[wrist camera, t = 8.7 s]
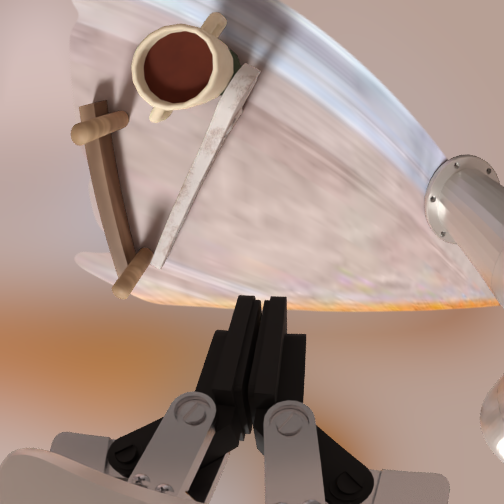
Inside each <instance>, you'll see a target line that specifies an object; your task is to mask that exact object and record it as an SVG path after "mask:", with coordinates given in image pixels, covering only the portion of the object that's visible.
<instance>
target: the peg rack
mask: <svg viewBox="0 0 504 504" xmlns="http://www.w3.org/2000/svg"><path fill="white" fill-rule="evenodd" d="M79 110H80V118H81V123H78V124H75V125H74V126H73V128H72V130H71V138H72V141H73V142H74V143H75V144H76V145H83V144H85V149H86V154H87V160H88V165H89V169H90V175H91V179H92V184H93V188H94V193H95V197H96V201H97V205H98V209H99V213H100V217H101V221H102V225H103V228H104V232H105V235H106V239H107V242H108V246H109V249H110V253H111V256H112V259H113V263H114V266H115V269H116V272H117V275H118V280H117V281H116V282H115V284H114V285H113V287H112V291H113V293H114V295H115V296H116V297H118V298H120V299H126V298H127V297H128V296H129V294H130V293H131V291H132V290H133V288H134V287H135V285H136V284H137V282H138V281H139V279H140V278H141V276H142V275H143V273H144V272H145V270H146V269H147V267H148V266H149V264H150V263H151V260H152V258H153V252H152V251H151V250H150V249H148V248H141V249H140V250H139V252H138V253H137V254H136V252H135V248H134V244H133V241H132V237H131V232H130V228H129V224H128V220H127V216H126V211H125V207H124V202H123V197H122V193H121V188H120V183H119V177H118V172H117V167H116V161H115V155H114V149H113V143H112V137H111V133H112V132H114V131H117V130H120V129H122V128H124V127H126V126H127V124H128V122H129V117H128V115H127V113H126V112H124V111H117V112H113V113H110V114H108V108H107V100H105V101H100V102H96V103H92V104H88V105H84V106H81V107H79Z"/></svg>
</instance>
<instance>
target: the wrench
mask: <svg viewBox="0 0 504 504" xmlns="http://www.w3.org/2000/svg"><path fill="white" fill-rule="evenodd" d="M260 73H261V71H260V70H259V69H257V68H255V67H253V66H251V65H249V64H247V63H245V64H244V65H243V66H242V67H241V68H240V69H239V70H238V71H237V73H236V74H235V76H234V77H233V79H232V80H231V82H230V83H229V84H228V86H227V88H226V90H225V91H224V93H223V95H222V97H221V99H220V101H219V103H218V105H217V108H216V110H215V113H214V115H213V118H212V120H211V123H210V125H209V128H208V130H207V133H206V135H205V137H204V140H203V142H202V145H201V147H200V150H199V152H198V154H197V156H196V158H195V160H194V162H193V164H192V166H191V169H190V171H189V173H188V175H187V177H186V179H185V182H184V184H183V186H182V188H181V190H180V193H179V195H178V197H177V200H176V202H175V204H174V206H173V209H172V211H171V213H170V216H169V218H168V220H167V223H166V225H165V228H164V230H163V233H162V235H161V237H160V240H159V242H158V245H157V247H156V250H155V252H154V255H153V258H152V260H151V263H150V264H151V265H153V266H154V267H156V268H158V269H161V268H162V267H163V265H164V263H165V261H166V259H167V257H168V255H169V253H170V250H171V248H172V246H173V244H174V242H175V239H176V237H177V235H178V233H179V231H180V228H181V226H182V224H183V222H184V220H185V218H186V216H187V214H188V211H189V209H190V207H191V205H192V203H193V201H194V199H195V197H196V195H197V193H198V191H199V189H200V187H201V185H202V183H203V181H204V179H205V177H206V175H207V173H208V171H209V169H210V167H211V165H212V163H213V161H214V159H215V157H216V155H217V154H218V152H219V150H220V148H221V146H222V145H223V143H224V141H225V139H226V138H227V136H228V134H229V133H230V131H231V129H232V128H233V126H234V124H235V123H236V121H237V120H238V118H239V117H240V115H241V114H242V112H243V110H242V106H243V105H244V103H245V101H246V99H247V98H248V96H249V94H250V92H251V90H252V88H253V87H254V85H255V83H256V81H257V77H258V76H259V74H260Z"/></svg>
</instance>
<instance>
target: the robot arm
mask: <svg viewBox="0 0 504 504" xmlns="http://www.w3.org/2000/svg"><path fill="white" fill-rule="evenodd" d="M454 164H455V165H454ZM431 197H432V198H431ZM424 208H425V216H426V219H427V222H428V224H429V226H430V228H431V229H432V231H433V232H434V233H435V234H436V235H437V236H438V237H439V238H440V239H441V240H443V241H445V242H447V243H451V244H458V246H459V247H460V248H461V249H462V251H463V252H464V253H465V255H466V256H467V257H468V259H469V260H470V261H471V263H472V264H473V266H474V267H475V268H476V270H477V271H478V272H479V274H480V275H481V277H482V278H483V280H484V281H485V283H486V284H487V285H488V287H489V288H490V290H491V291H492V293H493V295H494V296H495V297H496V299H497V300H498V302H499V303H500V305H501V306H502V307H503V309H504V187H503V186H501V185H500V183H499V180H498V177H497V174H496V173H495V171H494V169H493V168H492V167H491V166H490V165H489V164H488V163H487V162H486V161H484V160H483V159H481V158H479V157H476V156H473V155H459V156H456V157H453V158H451V159H450V160H448V161H446V162H445V163H444V164H443V165H441V166H440V167H439V169H438V170H437V171H436V172H435V173H434V175H433V177H432V179H431V180H430V182H429V185H428V188H427V191H426V195H425V205H424ZM305 353H306V334H287V298H286V297H274V296H271V298H270V300H265V301H264V306H263V311H261V301H260V300H255V296H244V295H239V296H238V299H237V303H236V306H235V310H234V313H233V316H232V320H231V323H230V327H229V330H228V331H225V330H216V331H215V334H214V336H213V339H212V342H211V345H210V348H209V351H208V354H207V357H206V360H205V363H204V366H203V369H202V373H201V375H200V378H199V381H198V384H197V387H196V390H195V392H187V393H184V394H182V395H180V396H179V397H177V398H176V399H175V400H174V401H173V402H172V403H171V405H170V407H169V409H168V410H167V412H166V414H165V416H164V417H162V418H160V419H159V420H157V421H154V422H152V423H150V424H148V425H146V426H144V427H142V428H140V429H137V430H136V431H133V432H131V433H129V434H127V435H125V436H123V437H120V438H118V439H117V440H114V439H111V438H110V437H102V436H94V435H86V434H79V433H72V432H62V433H60V434H58V435H57V436H56V437H55V438H54V440H53V442H52V445H51V449H50V451H46V450H42V449H36V448H23V449H17V450H15V451H13V452H11V453H10V454H9V455H8V456H7V457H6V458H5V459H4V461H3V462H2V464H1V465H0V504H209V502H210V500H211V498H212V495H213V493H214V491H215V488H216V486H217V484H218V482H219V479H220V477H221V475H222V472H223V470H224V467H225V465H226V463H227V460H228V458H229V455H230V451H231V450H233V449H235V448H236V447H238V445H239V440H240V441H244V438H245V434H250V433H251V430H252V425H253V428H254V434H255V439H256V445H257V449H258V450H259V451H260V452H261V453H262V454H263V455H264V465H265V504H448V498H449V492H450V486H449V482H448V480H447V479H446V478H445V477H444V476H443V475H441V474H437V473H422V472H406V471H395V470H385V469H382V470H381V471H378V470H369V469H368V468H366V466H364V465H363V464H362V463H361V462H359V461H358V460H357V459H356V458H354V457H353V456H352V455H351V454H350V453H348V452H347V451H346V450H345V449H344V448H342V447H341V446H340V445H339V444H338V443H336V442H335V441H334V440H333V439H332V438H330V437H329V436H328V435H327V434H326V433H325V432H324V431H322V430H321V429H320V428H319V427H318V426H317V425H316V423H315V417H314V414H313V412H312V411H311V409H310V408H309V407H308V406H306V405H305V404H303V395H304V377H305ZM480 424H481V430H482V434H483V436H484V439H485V441H486V443H487V444H488V446H489V448H490V449H491V451H492V452H493V453H494V454H495V455H496V456H497V457H498V458H499V459H500V460H501V461H502V462H503V463H504V374H503V376H502V377H501V378H500V379H499V380H498V381H497V382H496V384H495V385H494V386H493V387H492V388H491V390H490V391H489V393H488V394H487V396H486V398H485V400H484V402H483V404H482V408H481V413H480Z"/></svg>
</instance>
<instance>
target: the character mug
mask: <svg viewBox="0 0 504 504" xmlns="http://www.w3.org/2000/svg"><path fill="white" fill-rule="evenodd" d="M226 24H227V20H226V18H225V17H224V16H222V15H221V14H220V13H217V12H214V13H212V14H211V15H210V16H209V17H208V18H207V19H206V21H205V22H204V23H203V25H202V26H201V28H198V27H194V26H190V25H186V24H176V25H169V26H164V27H162V28H160V29H158V30H156V31H154V32H152V33H150V34H149V35H148V36H147V37H146V38H145V39H144V40H143V41H142V42H141V43H140V45H139V46H138V47H137V49H136V51H135V54H134V56H133V61H132V65H131V70H132V80H133V83H134V85H135V87H136V89H137V91H138V93H139V95H140V96H141V97H142V98H143V99H144V100H145V101H146V102H148V103H149V104H150V105H151V106H154V107H153V109H152V111H151V114H150V117H149V119H150V121H151V122H153V123H158V122H160V121H163V120H166V119H167V118H168V117H169V116H170V115H171V113H172V111H173V110H179V109H188V108H191V107H194V106H198V105H201V104H204V103H206V102H208V101H210V100H213V99H215V98H217V97H218V96H219V95H223V93H224V91H225V90H226V88H227V86H228V84H229V83H230V82H231V80H232V79H233V77H234V76H235V74H236V73H237V71H238V70H239V69H240V68H241V64H240V62H239V59H238V57H237V55H236V54H235V53H234V52H233V51H232V50H231V49H229V48H228V47H227V45H226V44H224V43H223V42H222V41H221V40H219V39H218V37H219V35H220V34H221V32H222V31H223V29H224V28H225V26H226Z"/></svg>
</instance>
